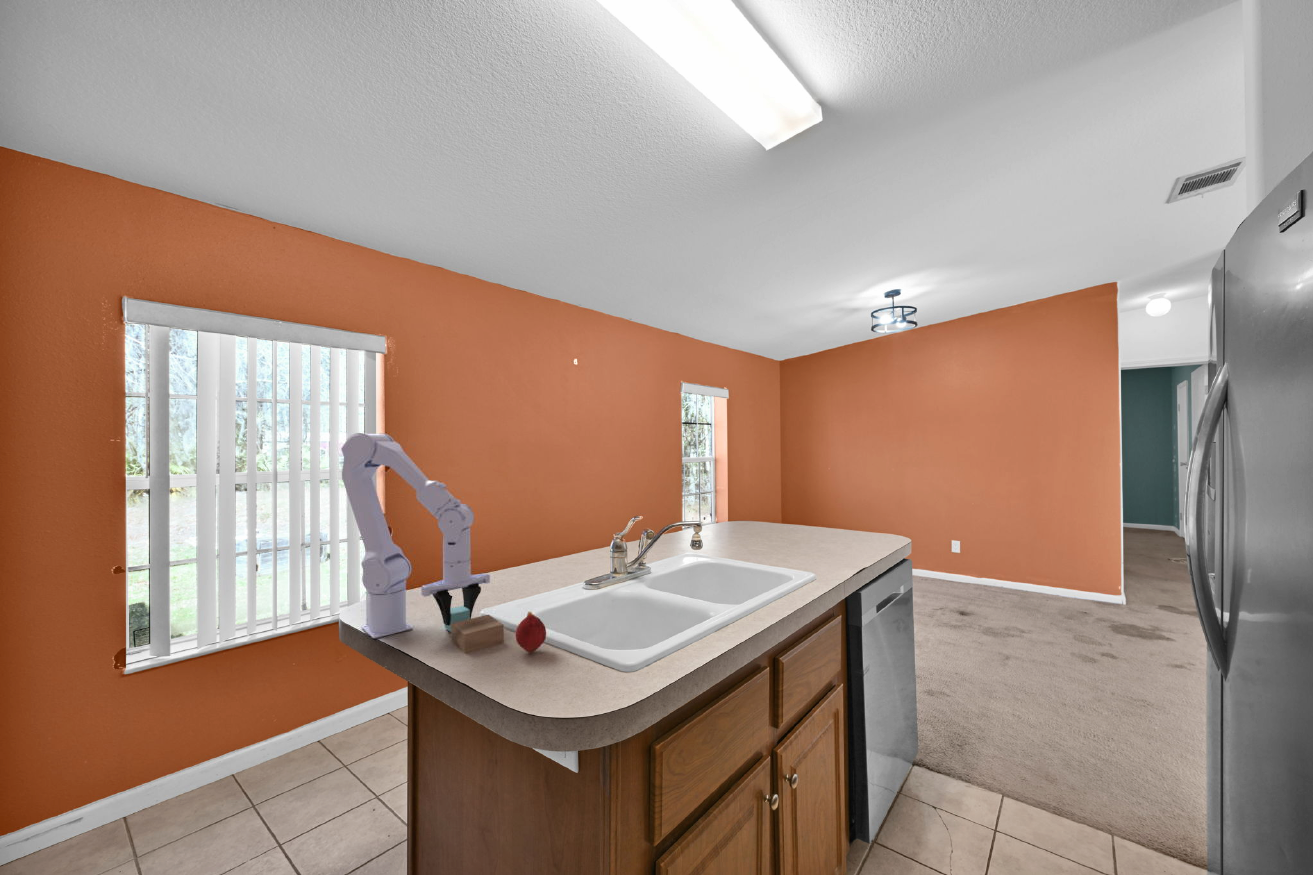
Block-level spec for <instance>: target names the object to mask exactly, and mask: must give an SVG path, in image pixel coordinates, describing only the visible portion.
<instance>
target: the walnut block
mask: <svg viewBox="0 0 1313 875" xmlns="http://www.w3.org/2000/svg"><path fill="white" fill-rule="evenodd" d="M504 626H505V624H504V623H502V622H500V621H499V620H497V619H496V618H495V617H493V616H491V615H490V614H486V615H485V614H484V615H481V616H477V617H473V618H472V617H471V619H468V620H464V621H459V622H455V623H451V632H450V637H451V638H450V642H451V643H452V644H454V645H455V646H456V647H457V648H458V649H459V650H460V651H461V652H463V653H464V654H467V653H470V652H474V651H477V650H481V649H485V648H488V647H491V646H496V645H499V644H503V643H505V642H504V641H505V640H504V639H505V637H504V635H505V634H504V631H505V630H504V628H505V627H504Z"/></svg>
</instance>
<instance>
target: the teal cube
mask: <svg viewBox="0 0 1313 875" xmlns="http://www.w3.org/2000/svg"><path fill="white" fill-rule="evenodd" d="M450 614H451V621H450V625H445V624H444V629H445V630H447V631H449V632H450V633H451V623H455V622H459V621H464V620H468V619H470V610H469V609H467V608H466V607H464V605H460V606H456V607H451V609H450Z"/></svg>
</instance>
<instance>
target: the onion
mask: <svg viewBox="0 0 1313 875" xmlns="http://www.w3.org/2000/svg"><path fill="white" fill-rule="evenodd" d="M515 631H516V632H515V641H516V643H517V644H518V646H519V647H520V648H522V650H525V652H527V653H528V654H532V653H534V652H535V651H536V650H537V649H539V648H540V647H541V646H542V645H543V644H544V642H545V640H546V638H547V629H546V626H545V624H544V622H543V621H542V620H541V619H540V617H537V616H536V615H535V614H533V613H532V611H527V614H526V617H524V618H523V619H522V620H521V621H520V622H519V624H518V625H517V627H516V630H515Z"/></svg>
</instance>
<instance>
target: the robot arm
mask: <svg viewBox="0 0 1313 875" xmlns="http://www.w3.org/2000/svg"><path fill="white" fill-rule="evenodd" d="M341 452H342V454H343V455H342V456H343V462H342V469H341V470H342V471H341V479H342V483H343V484H344V489H345V491H346V494H347V497H348V501H349V503H350V506H351V509H352V512H353V515H354V518H355V522H356V524H357V527H358V530H359V534H360V538H361V540H362V543H363V546H364V550H365V554H364V556H363V559H362V561H361V563H360V564H361V568H362V578H361V581H362V585H363V587H364V589H366V590H367V592H368V594H367V596H366V601H365V606H366V610H365V615H366V617H365V618H366V620H365V623H366V624H363V625H361V629H362V630H364V631H365V632H366V633H367V635H369V636H370V637H371V638H372V639H378V638H382V637H385V636H389V635H394V634H396V633H401V632H402V633H403V632H404V631H409V630H412V629H413V626H412V624H410V623H409V622H407V617H406V616H407V594H406V593H407V592H406V591H407V579H408V578H409V577H410V575H411V573H412V565H411V562H410V560H409V558H407V557H406V556H405V554H404V552H403V550H402V548H401V547H400V546H398V545H397V544H395V543H394V542H393V539H392V536H391V533H390V530H389V529H390V528H389V526H388V524H387V523H388V522H387V520H386V518H385V515H384V512H383V511H384V510H383V508H382V505H381V501H380V499H379V495H378V493H377V490H376V486H375V484H374V481H373V476H374V474H376V472H377V470H378V469H379V468H380V467H381V466H385V467H389V468H391V469H392V470H393V471H394V472H396V474H398V475H399V476H400V477H401V479H403V480H404V481H405V482H406V483H407V484H408V485H410V486H411V487H412V488H414V490H415V491H416V499H417V500H418V502H419V503H420V504H421V505H422V506H423V507H424V508H425V509H426V510H427V511H428V512H430V514H431V515H432V516H433V517H434V518H436V519H437V520H438V521H437V525H438V529H439V530H440V531H441V533H442V540H443V541H442V571H443V572H442V580H437V581H436V582H432V583H428V584H425V585H421V595H422V596H423V597H431V595H432V596H433V598H434V600H435V601H436V602H435V603H436V604H437V606H438V608H439V610H440V613H441V617H442V620H443V621H442V622H443V624H444V626H445V625H450V621H451V614H450V609H451V608H452V600H453V596H452V594H450V592H449V591H453V590H454V591H455V590H457V589H461V591H462V598H463V606H464V607H466V608H467V609H469V610H470V619H472V614H473V611H474V607H475V604H476V601H477V600H478V597H479V596H480V594H481V592H482V586H480V585H482V584H490V583H491V579H490V578H491V575H490V573H488V572H487V573H485V572H484V573H479V574H472V573H471V572H472V570H471V569H472V567H471V566H472V564H471V562H472V561H471V554H472V553H471V552H472V551H471V526H472V525H473V524H474V520H475V514H474V511H473V510H472V509H471V507H470V506H469V505H468V504H464V503H461V502H462V501H461V500H460V499H458V498H455V497H454V496H453V494H451V493H450V492H449V491H448V490H447V489H446V488H447V485H446V484H445V483H444V482H441V483H440V482H439V481H438V480H429V479H428V477H427V476H426V475H425V473H423V472H422V471H421V469H420V468H419V467H418V466H417V465H416V464H415V463H414V461H413V460H412V459H411V458H410V457H409V455H407V454H406V452H405V451H404V450H403V448H402V446H401V444H399V443H398V442H397V441H395V440H394V438H393V437H392V436H390V435H389V434H387V433H382V432H380V433H365V432H355V433H353V434H351V435H350V436H349V437H348V438H347V439H346V441H345V443H344V444H343V446H342V447H341Z"/></svg>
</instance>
